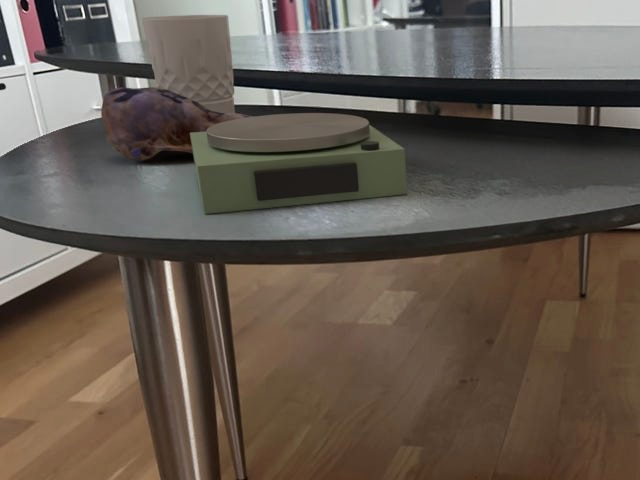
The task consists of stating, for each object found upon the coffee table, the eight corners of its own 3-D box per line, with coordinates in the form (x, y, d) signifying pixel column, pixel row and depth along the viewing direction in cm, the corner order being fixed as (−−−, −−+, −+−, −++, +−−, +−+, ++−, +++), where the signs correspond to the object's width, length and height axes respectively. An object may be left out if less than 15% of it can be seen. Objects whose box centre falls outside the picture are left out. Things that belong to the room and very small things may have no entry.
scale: (196, 173, 64) (188, 127, 63) (365, 158, 68) (362, 114, 66) (205, 216, 52) (196, 160, 51) (408, 195, 56) (406, 143, 55)
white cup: (161, 120, 88) (143, 16, 84) (239, 115, 90) (225, 13, 86) (159, 132, 81) (140, 19, 77) (244, 126, 83) (230, 16, 79)
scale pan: (204, 130, 62) (202, 119, 62) (352, 119, 65) (351, 109, 65) (212, 157, 53) (210, 144, 52) (386, 144, 56) (385, 131, 55)
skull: (271, 139, 73) (256, 66, 70) (248, 170, 67) (230, 92, 64) (136, 148, 74) (115, 76, 71) (100, 179, 68) (75, 102, 64)
